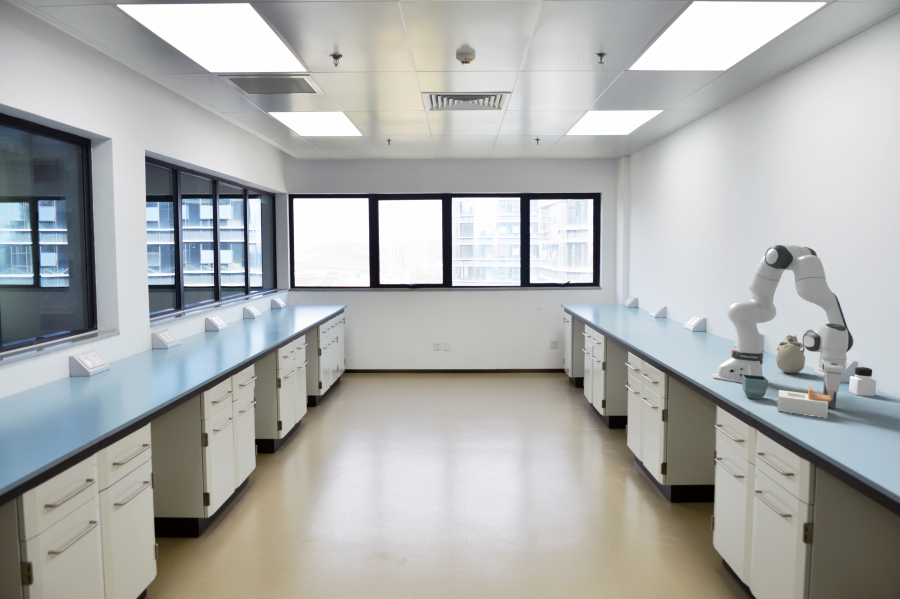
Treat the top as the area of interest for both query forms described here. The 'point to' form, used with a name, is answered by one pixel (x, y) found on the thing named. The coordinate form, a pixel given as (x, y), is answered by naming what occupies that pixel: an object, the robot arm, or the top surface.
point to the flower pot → (754, 386)
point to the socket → (801, 404)
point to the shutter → (817, 396)
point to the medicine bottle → (862, 382)
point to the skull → (790, 355)
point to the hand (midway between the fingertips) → (829, 397)
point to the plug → (833, 402)
